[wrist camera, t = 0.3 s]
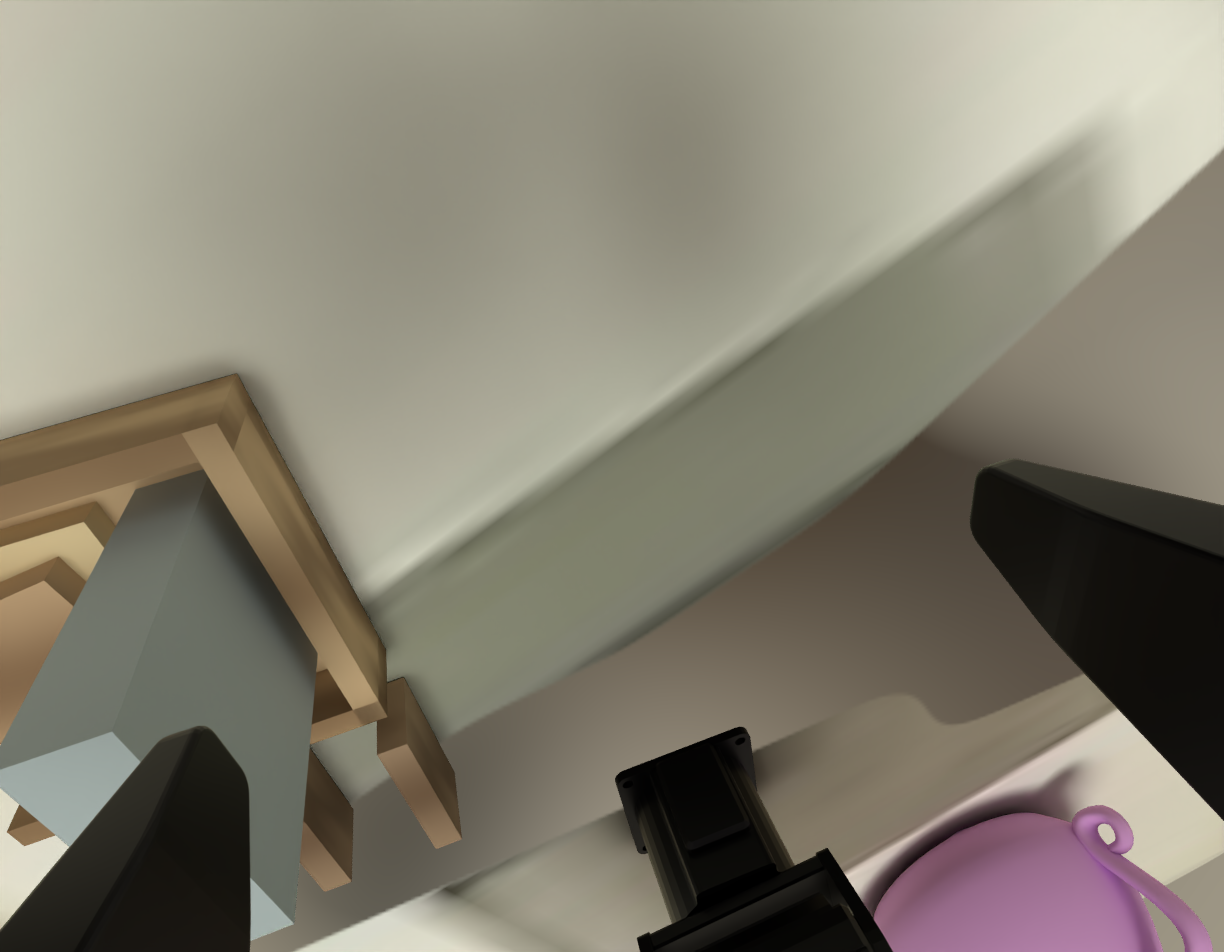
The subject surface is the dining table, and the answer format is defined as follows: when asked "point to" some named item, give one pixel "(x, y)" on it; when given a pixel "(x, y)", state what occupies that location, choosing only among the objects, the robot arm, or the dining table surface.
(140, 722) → the grey rectangular slab
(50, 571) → the offcut top
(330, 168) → the dining table surface
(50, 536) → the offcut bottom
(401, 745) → the holder
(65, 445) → the tray
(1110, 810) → the teapot
